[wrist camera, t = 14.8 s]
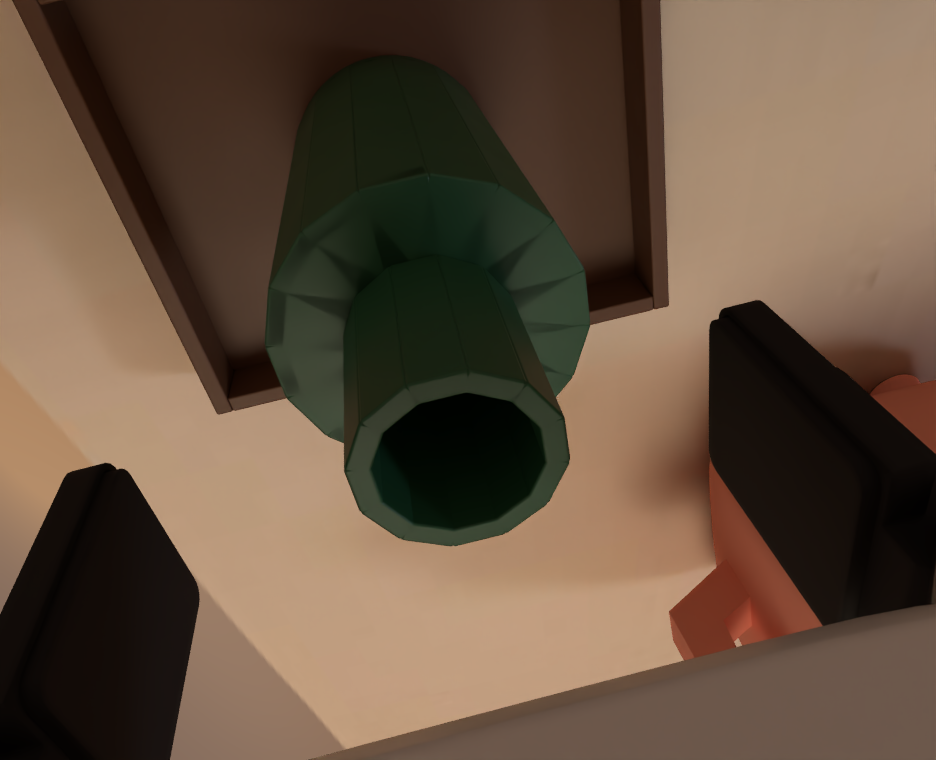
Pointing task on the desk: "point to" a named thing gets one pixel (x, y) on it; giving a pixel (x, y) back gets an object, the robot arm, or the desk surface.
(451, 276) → the bottle
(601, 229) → the tray
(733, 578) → the teapot
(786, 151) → the desk surface
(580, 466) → the desk surface
